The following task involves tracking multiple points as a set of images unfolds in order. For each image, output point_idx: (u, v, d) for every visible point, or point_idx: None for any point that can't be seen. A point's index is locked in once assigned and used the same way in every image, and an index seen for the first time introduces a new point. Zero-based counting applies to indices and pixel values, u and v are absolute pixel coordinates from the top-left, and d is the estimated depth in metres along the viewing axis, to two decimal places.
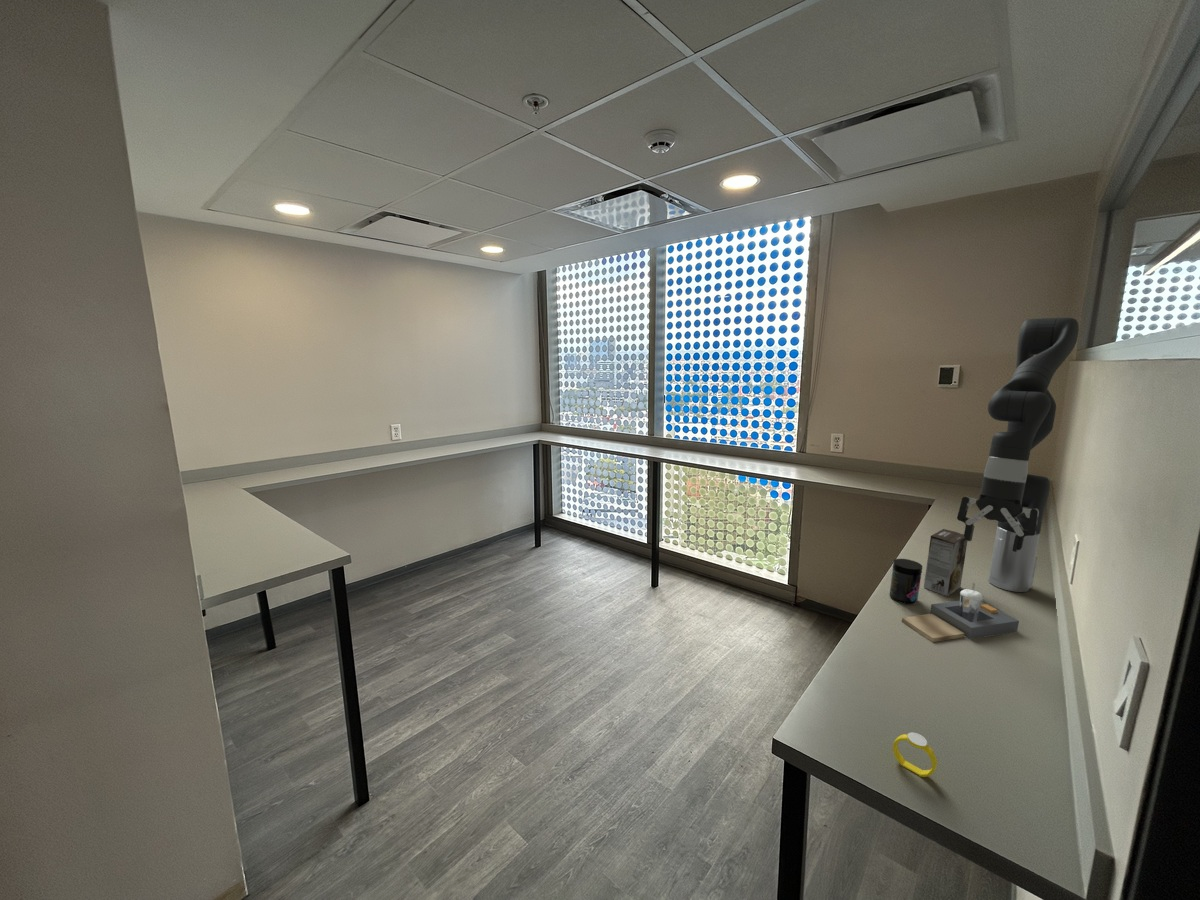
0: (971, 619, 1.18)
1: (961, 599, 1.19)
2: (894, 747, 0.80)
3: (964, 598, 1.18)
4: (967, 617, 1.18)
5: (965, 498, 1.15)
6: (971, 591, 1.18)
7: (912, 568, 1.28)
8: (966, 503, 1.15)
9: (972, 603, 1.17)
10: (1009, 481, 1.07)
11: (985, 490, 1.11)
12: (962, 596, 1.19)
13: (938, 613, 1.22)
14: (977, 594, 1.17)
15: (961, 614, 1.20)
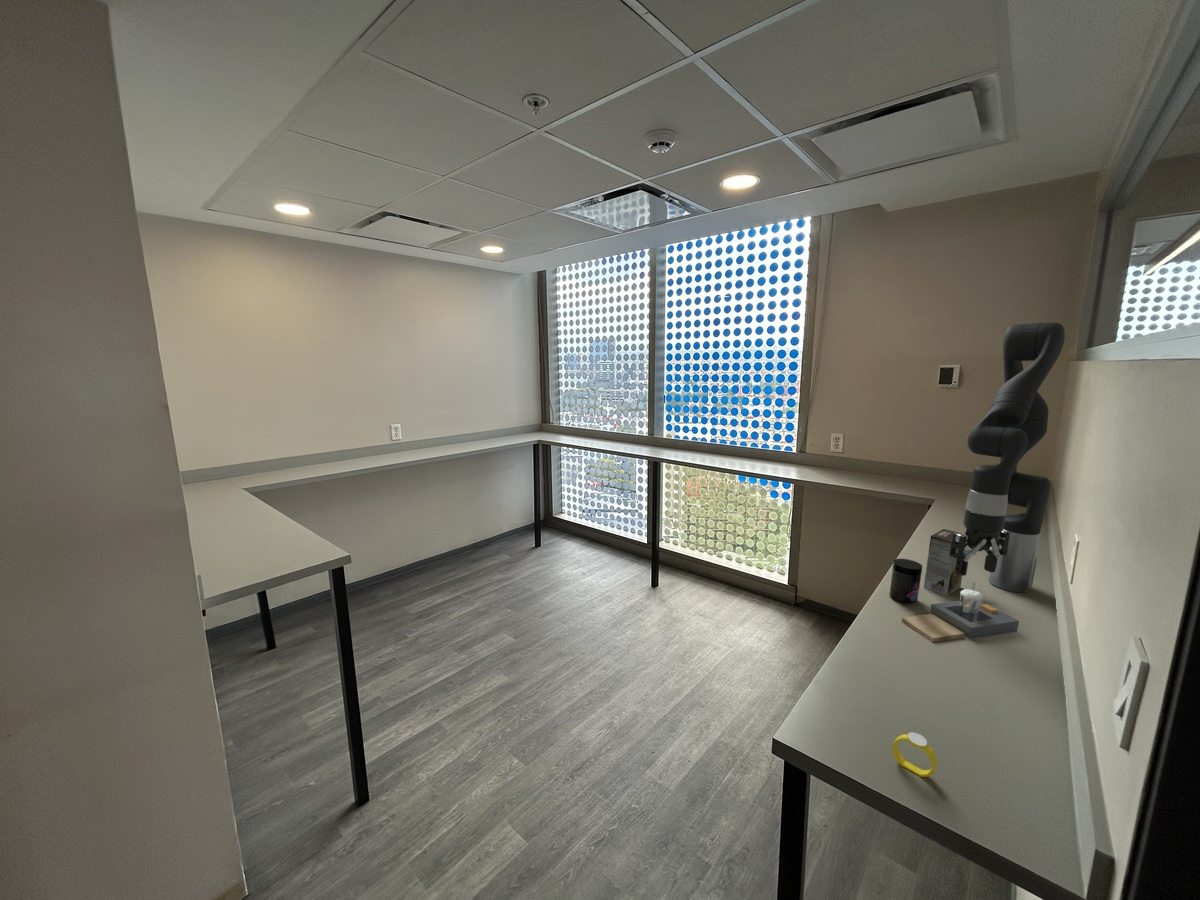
0: (971, 619, 1.18)
1: (961, 599, 1.19)
2: (894, 747, 0.80)
3: (964, 598, 1.18)
4: (967, 617, 1.18)
5: (965, 537, 1.13)
6: (971, 591, 1.18)
7: (912, 568, 1.28)
8: (965, 542, 1.13)
9: (972, 603, 1.17)
10: (1004, 515, 1.11)
11: (985, 527, 1.12)
12: (962, 596, 1.19)
13: (938, 613, 1.22)
14: (977, 594, 1.17)
15: (961, 614, 1.20)
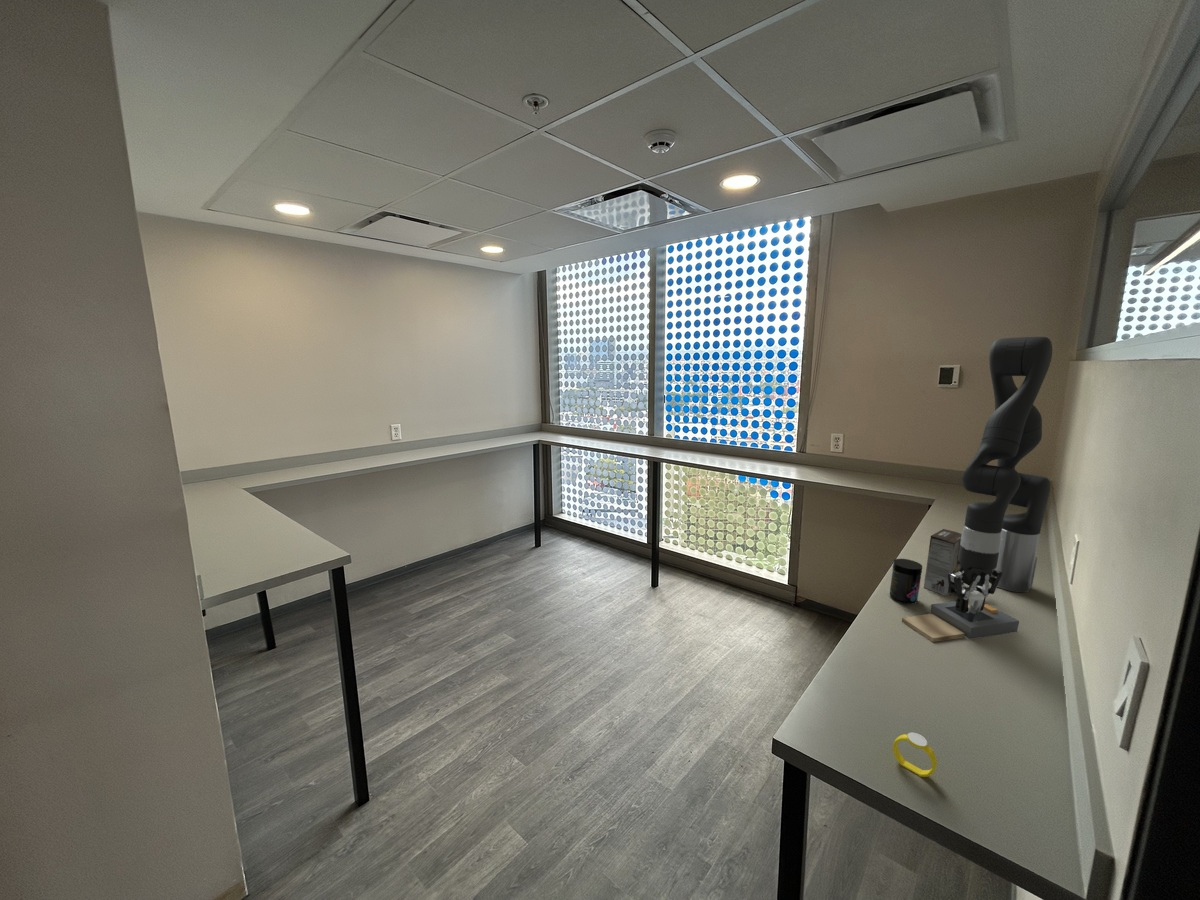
0: (971, 619, 1.18)
1: None
2: (894, 747, 0.80)
3: None
4: (968, 616, 1.18)
5: (959, 578, 1.15)
6: None
7: (912, 568, 1.28)
8: (960, 581, 1.16)
9: (973, 603, 1.17)
10: (998, 552, 1.13)
11: (979, 564, 1.14)
12: None
13: (938, 613, 1.22)
14: (978, 593, 1.17)
15: (961, 614, 1.19)
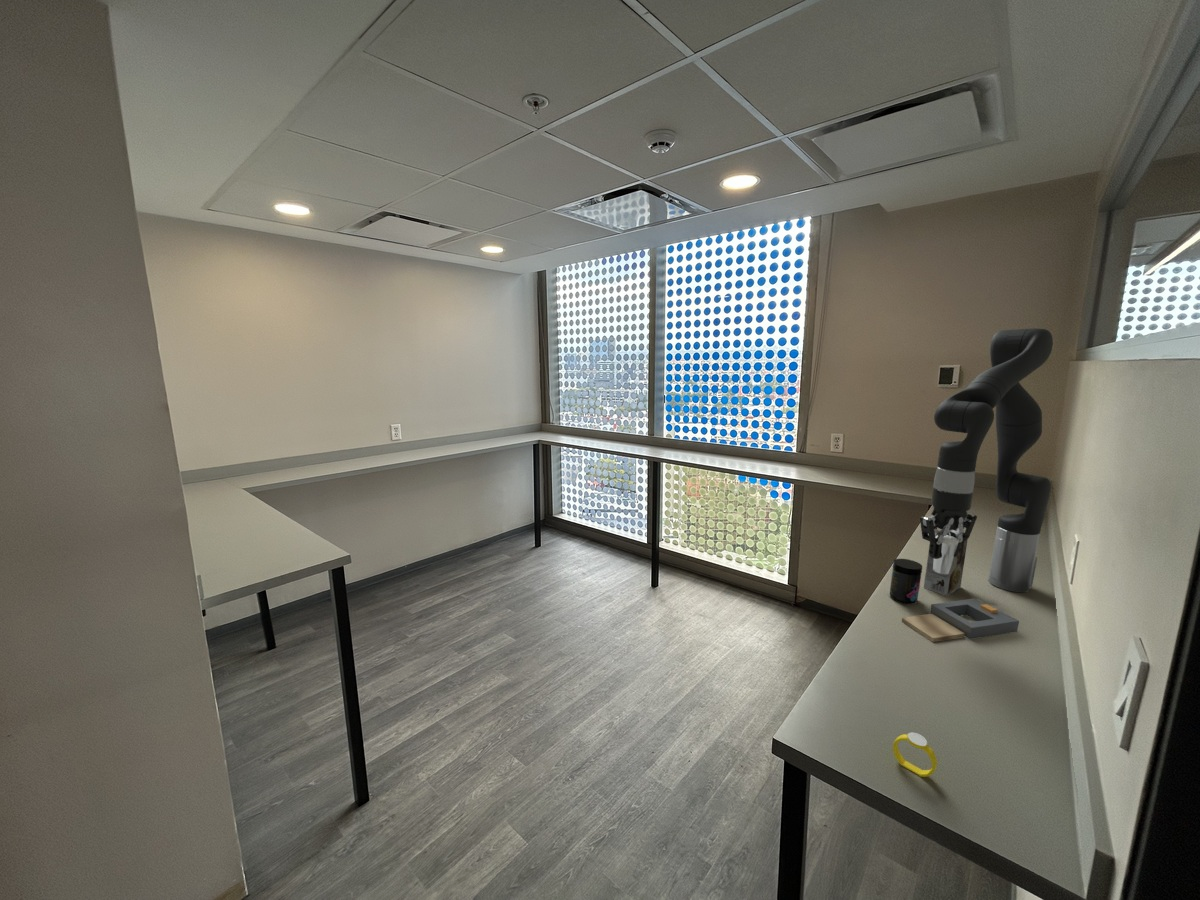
0: (945, 565, 1.13)
1: None
2: (894, 747, 0.80)
3: None
4: (941, 562, 1.13)
5: (931, 521, 1.10)
6: (946, 535, 1.13)
7: (912, 568, 1.28)
8: (933, 524, 1.10)
9: (946, 548, 1.12)
10: (972, 493, 1.08)
11: (952, 505, 1.08)
12: None
13: (938, 613, 1.22)
14: (952, 538, 1.12)
15: (935, 560, 1.14)
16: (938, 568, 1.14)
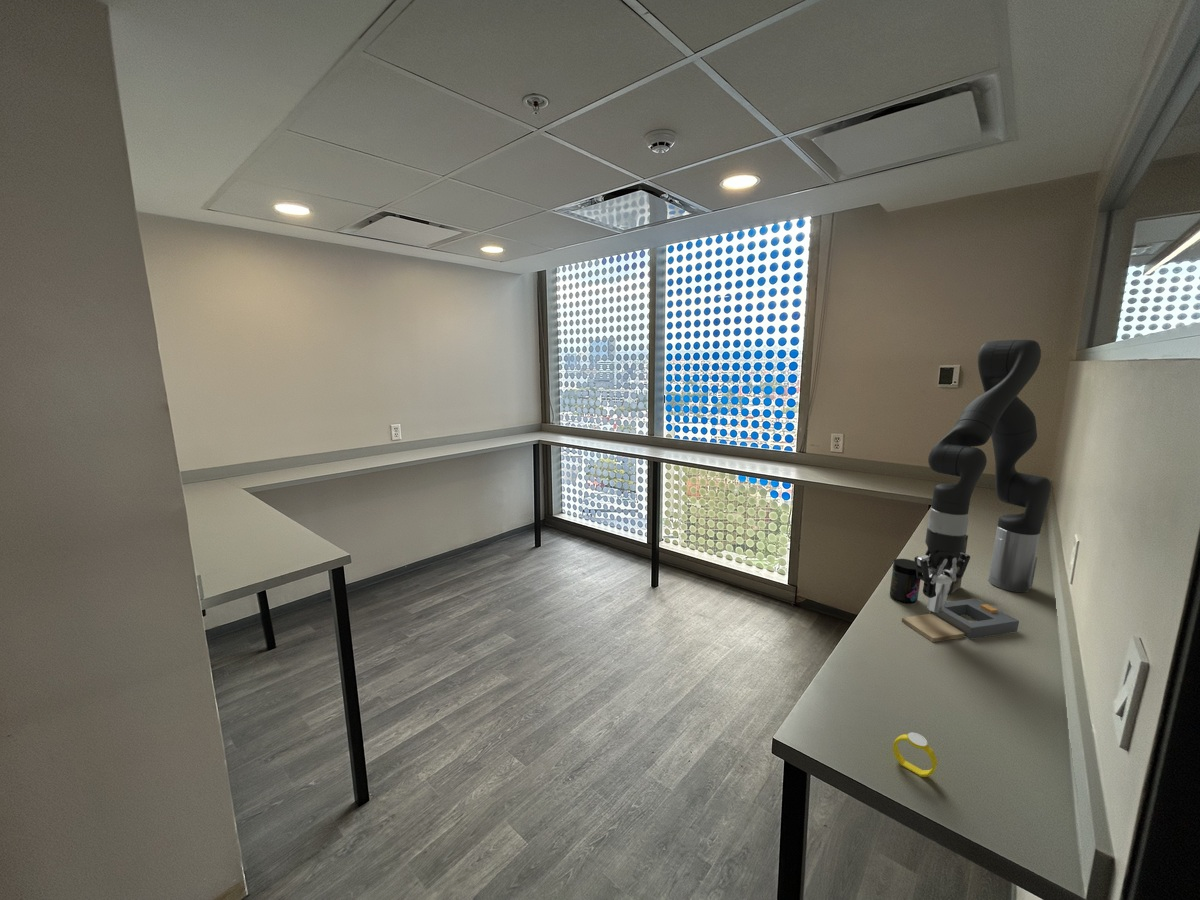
0: (939, 604, 1.15)
1: None
2: (894, 747, 0.80)
3: None
4: (935, 601, 1.15)
5: (925, 562, 1.12)
6: (940, 575, 1.15)
7: (912, 568, 1.28)
8: (927, 565, 1.12)
9: (940, 587, 1.14)
10: (965, 535, 1.10)
11: (946, 547, 1.11)
12: None
13: (938, 613, 1.22)
14: (945, 577, 1.14)
15: (929, 598, 1.16)
16: (932, 607, 1.16)
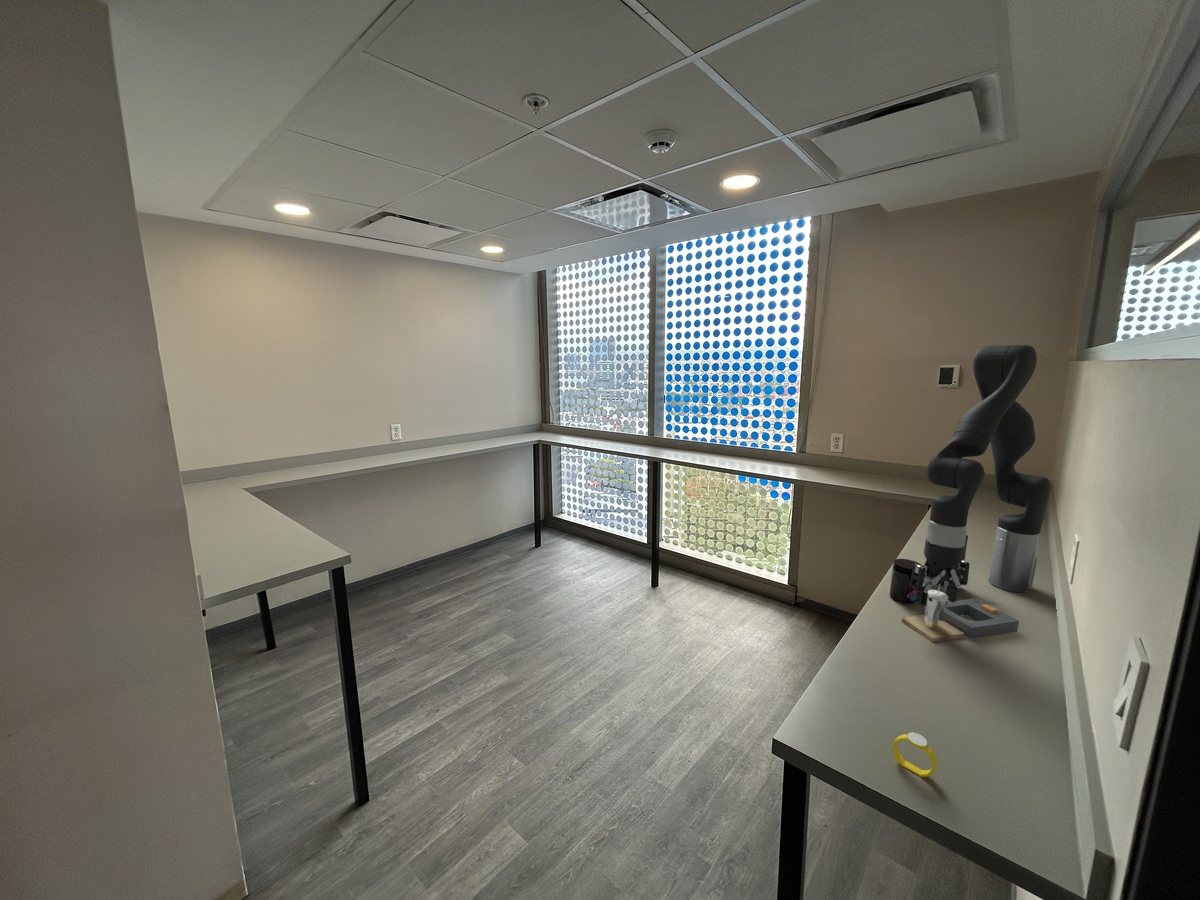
0: (936, 620, 1.16)
1: None
2: (894, 747, 0.80)
3: (929, 599, 1.16)
4: (932, 618, 1.16)
5: (924, 569, 1.12)
6: (936, 592, 1.16)
7: (912, 568, 1.28)
8: (924, 573, 1.13)
9: (936, 604, 1.15)
10: (963, 546, 1.11)
11: (944, 559, 1.11)
12: None
13: None
14: (941, 594, 1.15)
15: (926, 615, 1.17)
16: (930, 623, 1.17)
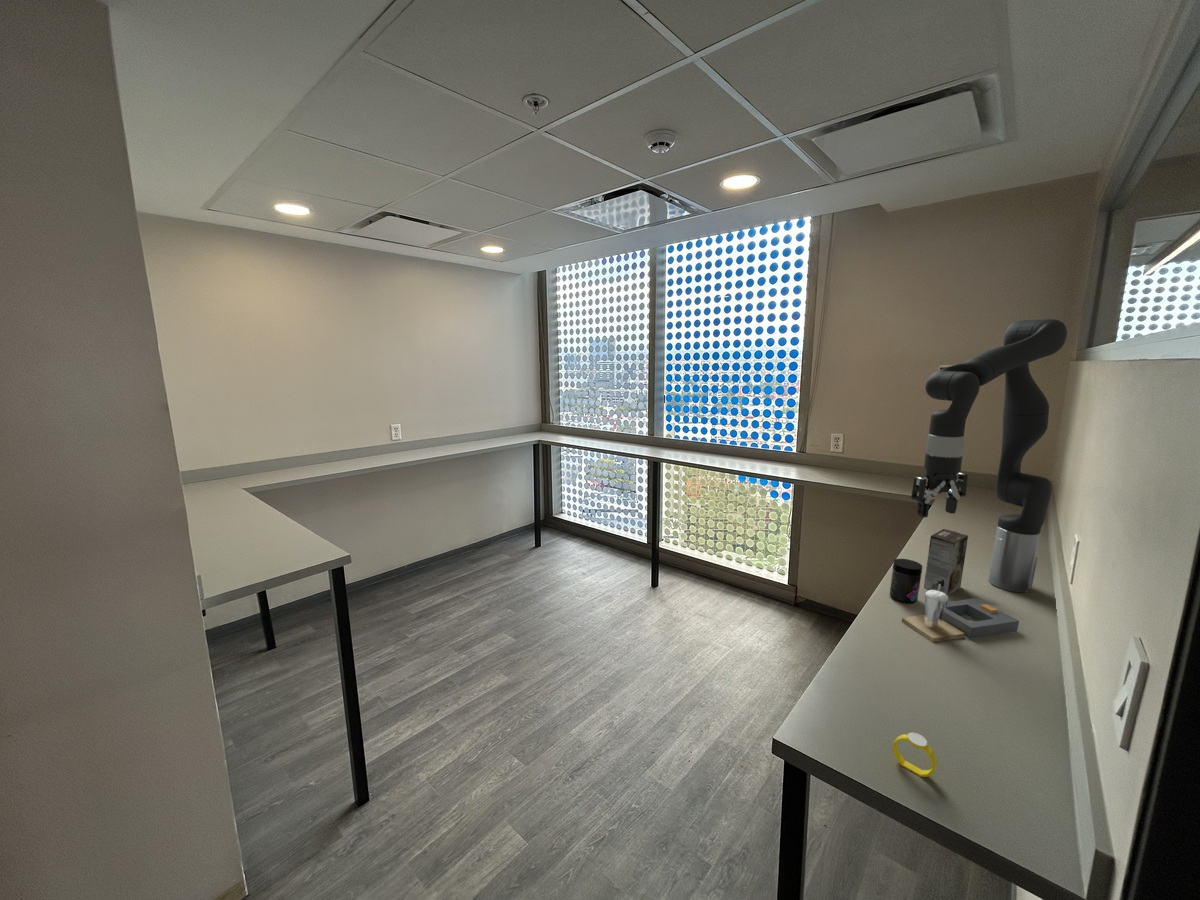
0: (936, 620, 1.16)
1: (926, 600, 1.17)
2: (894, 747, 0.80)
3: (929, 599, 1.16)
4: (932, 618, 1.16)
5: (925, 480, 1.18)
6: (936, 592, 1.16)
7: (912, 568, 1.28)
8: (925, 484, 1.18)
9: (936, 604, 1.15)
10: (961, 456, 1.16)
11: (943, 469, 1.17)
12: (927, 596, 1.16)
13: None
14: (941, 594, 1.15)
15: (926, 615, 1.17)
16: (930, 623, 1.17)
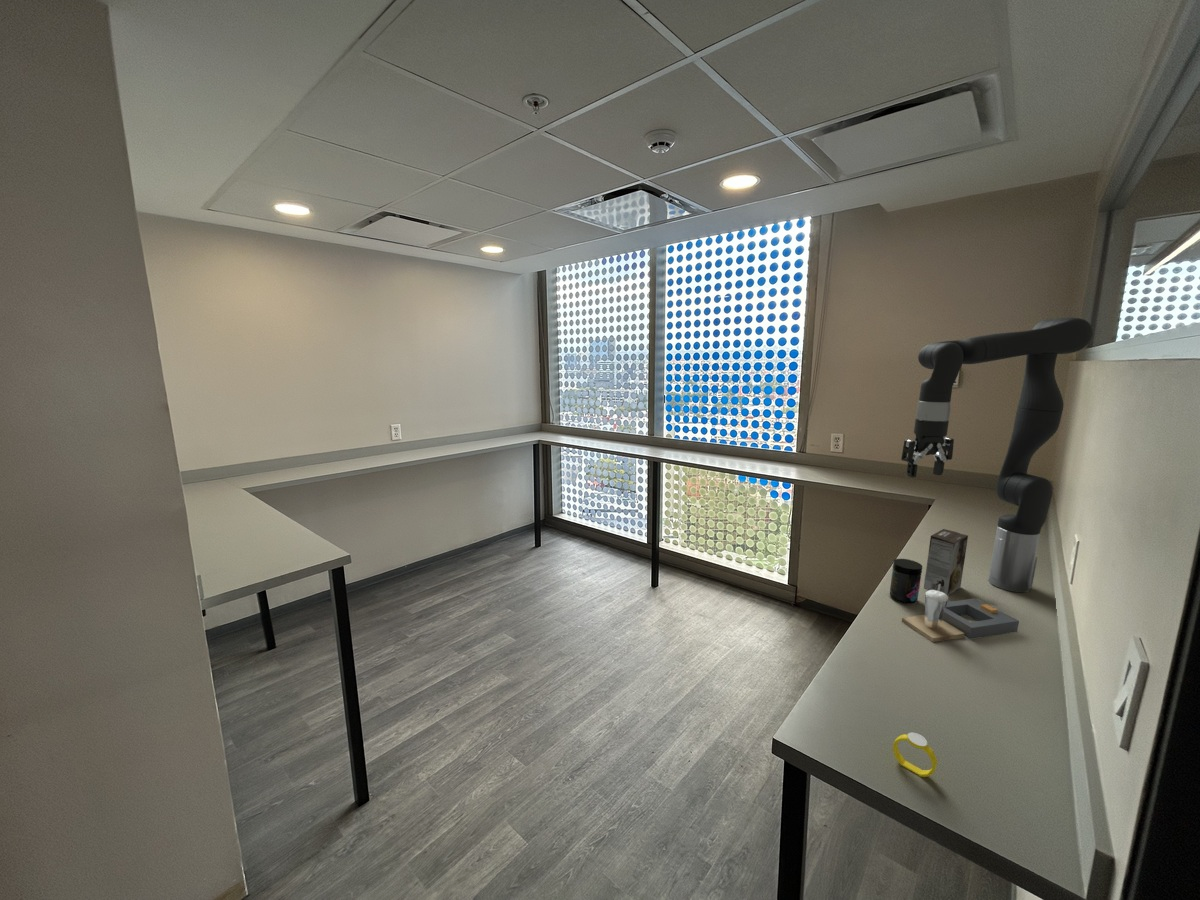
0: (936, 620, 1.16)
1: (926, 600, 1.17)
2: (894, 747, 0.80)
3: (929, 599, 1.16)
4: (932, 618, 1.16)
5: (913, 442, 1.29)
6: (936, 592, 1.16)
7: (912, 568, 1.28)
8: (914, 446, 1.29)
9: (936, 604, 1.15)
10: (947, 421, 1.27)
11: (931, 432, 1.28)
12: (927, 596, 1.16)
13: None
14: (941, 594, 1.15)
15: (926, 615, 1.17)
16: (930, 623, 1.17)
